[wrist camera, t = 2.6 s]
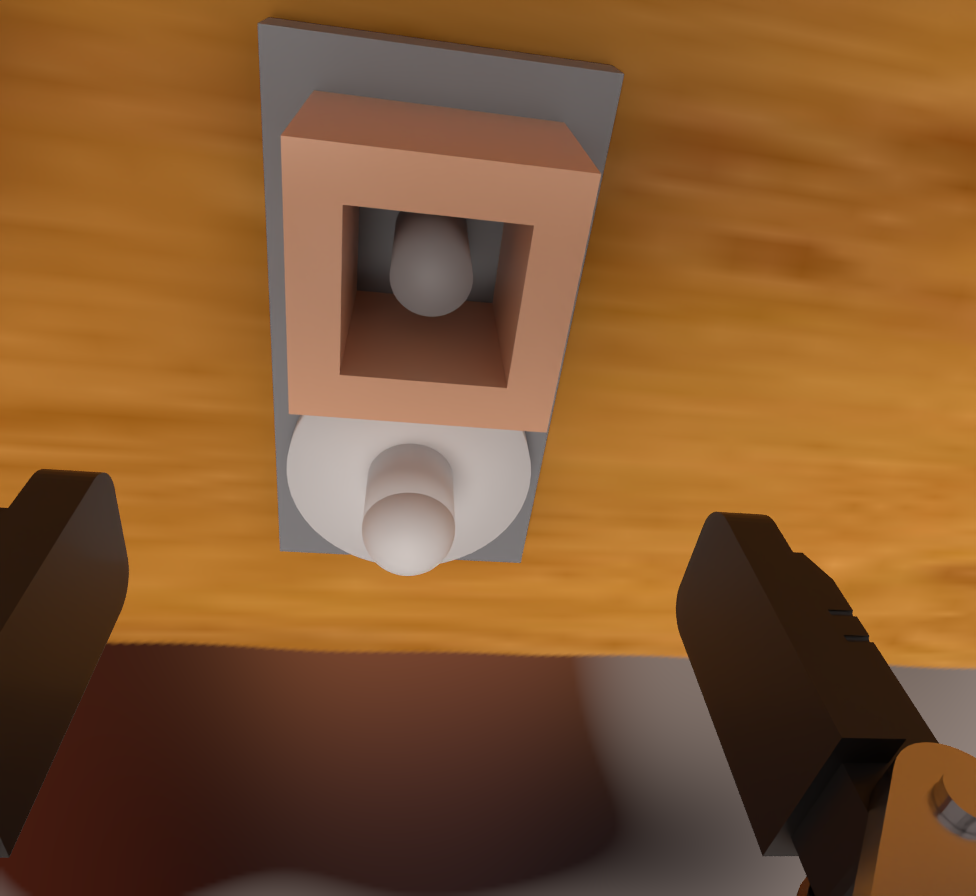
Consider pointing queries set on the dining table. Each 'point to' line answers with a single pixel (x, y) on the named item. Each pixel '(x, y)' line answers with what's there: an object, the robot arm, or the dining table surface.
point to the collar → (439, 191)
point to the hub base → (421, 85)
